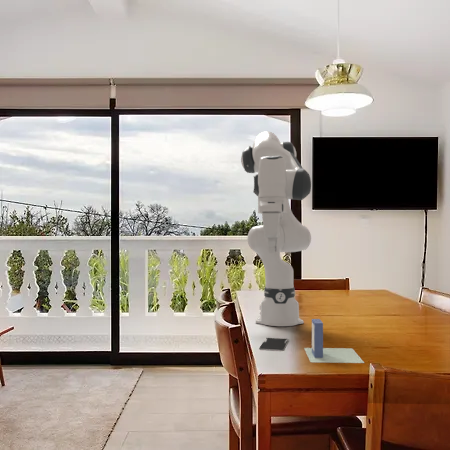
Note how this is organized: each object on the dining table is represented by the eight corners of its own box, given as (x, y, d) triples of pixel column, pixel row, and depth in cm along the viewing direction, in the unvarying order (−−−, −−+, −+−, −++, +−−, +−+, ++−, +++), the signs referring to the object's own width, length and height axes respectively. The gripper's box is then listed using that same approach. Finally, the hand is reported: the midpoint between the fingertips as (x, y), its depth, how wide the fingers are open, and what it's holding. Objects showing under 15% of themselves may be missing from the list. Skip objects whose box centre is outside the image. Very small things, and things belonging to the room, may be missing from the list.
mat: (303, 349, 154) (303, 347, 154) (352, 349, 153) (352, 348, 153) (310, 363, 138) (310, 362, 138) (364, 364, 137) (364, 362, 137)
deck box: (311, 351, 149) (311, 318, 149) (319, 351, 149) (319, 319, 149) (314, 357, 143) (314, 323, 143) (323, 357, 143) (323, 323, 143)
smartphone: (258, 348, 152) (266, 337, 167) (258, 353, 152) (266, 341, 167) (283, 350, 150) (288, 338, 165) (283, 354, 150) (288, 342, 165)
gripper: (264, 209, 162) (265, 251, 162) (259, 205, 142) (259, 253, 141) (283, 209, 161) (284, 251, 161) (281, 205, 141) (282, 253, 140)
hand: (272, 252), depth 151 cm, fingers open, 8 cm apart
